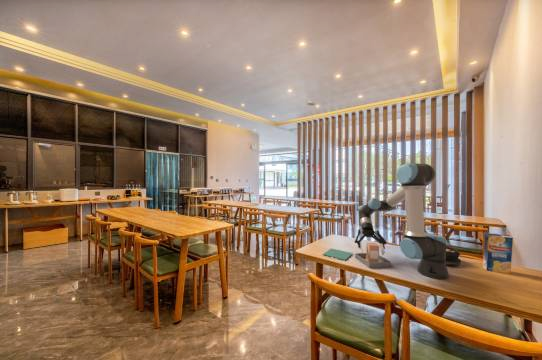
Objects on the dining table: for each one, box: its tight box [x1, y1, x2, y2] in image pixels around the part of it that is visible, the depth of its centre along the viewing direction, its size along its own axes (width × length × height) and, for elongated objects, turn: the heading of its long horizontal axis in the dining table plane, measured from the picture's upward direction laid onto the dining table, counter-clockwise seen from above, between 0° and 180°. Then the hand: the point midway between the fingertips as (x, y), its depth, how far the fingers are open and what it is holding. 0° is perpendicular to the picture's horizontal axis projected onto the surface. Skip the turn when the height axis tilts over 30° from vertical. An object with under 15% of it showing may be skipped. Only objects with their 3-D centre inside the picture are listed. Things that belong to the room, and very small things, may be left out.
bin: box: [354, 252, 392, 269], centre depth 153 cm, size 17×15×3 cm
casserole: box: [445, 245, 462, 266], centre depth 160 cm, size 25×19×8 cm
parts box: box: [365, 242, 380, 263], centre depth 153 cm, size 6×6×12 cm
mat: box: [322, 248, 353, 262], centre depth 166 cm, size 16×16×1 cm
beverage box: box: [482, 232, 514, 275], centre depth 145 cm, size 7×11×22 cm, turn 62°
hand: (372, 253), depth 152 cm, fingers open, 13 cm apart
